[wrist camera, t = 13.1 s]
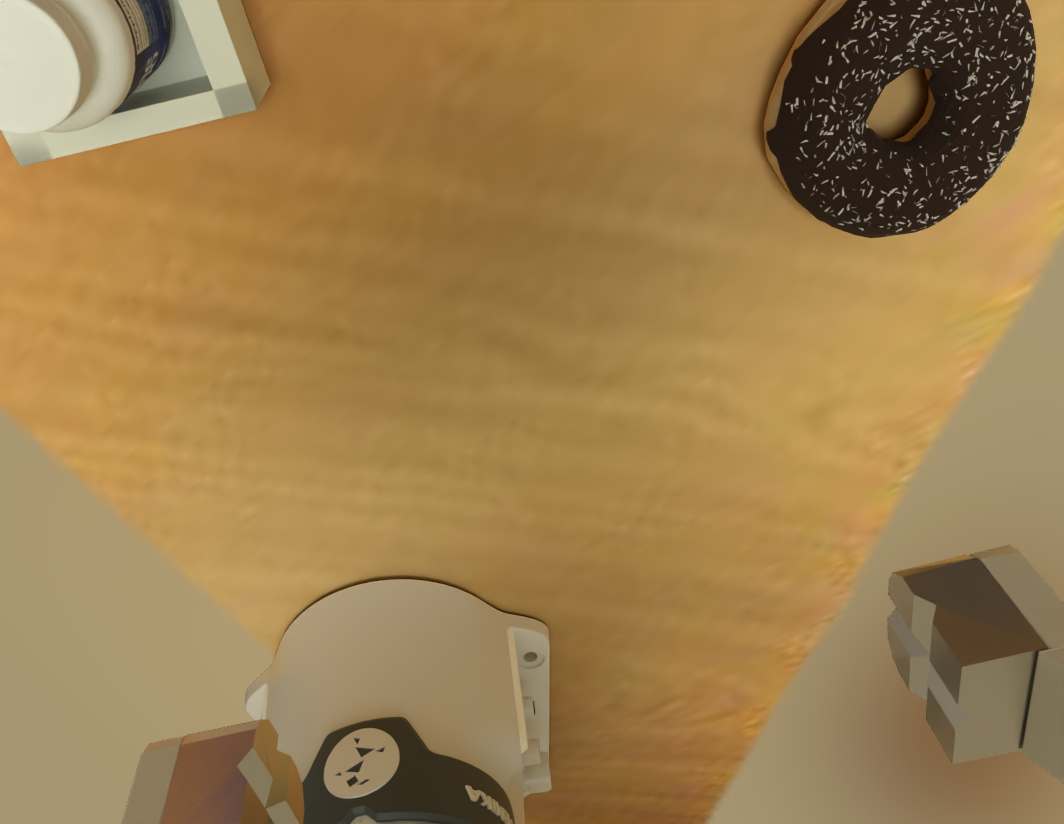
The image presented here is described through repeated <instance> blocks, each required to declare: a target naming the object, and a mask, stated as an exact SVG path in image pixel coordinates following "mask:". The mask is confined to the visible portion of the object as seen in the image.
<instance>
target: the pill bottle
mask: <svg viewBox="0 0 1064 824" xmlns="http://www.w3.org/2000/svg"><path fill="white" fill-rule="evenodd" d="M173 36H174V13H173V8H172V3H171V0H0V131H4V132H8V133H14V134H33V133H39V132H43V131H44V132H53V133H62V132H72V131H77V130H81V129H84V128H88V127H90V126H93V125H95V124H97V123H99V122H100V121H102V120H104V119H105V118H106V117H108V116H109V115H110V114H112V113H113V112H114V111H115V110H116V109H117V108H118V107H119V106H120V105H121V104H122V103H123V102H124V101H125V100H126V99H127V98H128V97H129V96H131V95H132V93H134V92H135V91H136V90H137V89H138V88H139V87H140V86H141V85H142V84H143V83H144V82H145V81H146V80H147V79H148V78H149V77H150V76H151V75H152V74H153V73H154V72H155V71H156V70H157V69H158V68H159V67H160V65H161V64H162V62H163V61H164V59H165V58H166V56H167V55H168V53H169V50H170V48H171V45H172V41H173Z"/></svg>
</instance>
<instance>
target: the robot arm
mask: <svg viewBox="0 0 1064 824" xmlns="http://www.w3.org/2000/svg"><path fill="white" fill-rule="evenodd" d="M888 595H889V596H890V598H891V600H892V601H893V603H894V605H895V606H896V609H895V610H894V611H893V612H892V614H891V615H890V616H889V617H888V619H887V621H888V640H889V644H890V648H891V652H892V657H893V659H894V662H895V664H896V666H897V669H898V671H899V673H900V675H901V677H902V679H903V680H904V682H905V684H906V686H907V688H908V689H909V691H911V692H913V693H915V694H917V695H918V696H920V697H922V698H924V699H925V700H927V708H926V720H927V722H928V724H929V725H930V727H931V729H932V730H933V732H934V734H935V735H936V737H937V739H938V741H939V742H940V744H941V745H942V747H943V749H944V751H945V753H946V754H947V756H948V758H949V759H950V760H951V763H952V764H957V763H961V762H967V761H972V760H977V759H982V758H987V757H991V756H997V755H1002V754H1007V753H1012V752H1017V751H1022V755H1023V756H1025V757H1026V758H1028V759H1029V760H1031V761H1032V762H1034V763H1035V764H1036V765H1038V766H1039V767H1041V768H1042V769H1044V770H1045V771H1047V772H1048V773H1050V774H1051V775H1052V776H1054V777H1055V778H1057V779H1058V780H1060V781H1061V782H1062V783H1064V602H1063V601H1062V600H1061V598H1060V597H1059V596H1058V595H1057V594H1056V593H1055V591H1054V590H1053V589H1052V588H1051V587H1050V586H1049V585H1048V583H1047V582H1046V581H1045V580H1044V579H1043V577H1042V576H1041V575H1040V574H1039V573H1038V572H1037V570H1036V569H1035V568H1034V567H1033V566H1032V565H1031V563H1030V562H1029V561H1028V560H1027V559H1026V558H1025V556H1024V555H1023V554H1022V553H1021V552H1020V551H1019V550H1018V549H1017V548H1015V547H1013V546H1011V545H1007V546H1003V547H999V548H994V549H990V550H986V551H982V552H977V553H973V554H970V555H962V556H959V557H954V558H950V559H946V560H942V561H938V562H934V563H929V564H925V565H921V566H917V567H913V568H909V569H905V570H901V571H897V572H893V573H892V575H891V577H890V579H889V586H888ZM529 652H531V653H529ZM549 693H550V638H549V630H548V627H547V626H546V625H545V624H544V623H542V622H540V621H538V620H535V619H531V618H527V617H523V616H518V615H513V614H507V613H503V612H501V611H498V610H497V609H495V608H493V607H491V606H489V605H488V604H486V603H485V602H483V601H481V600H480V599H478V598H477V597H475V596H473V595H471V594H469V593H467V592H464V591H462V590H459V589H457V588H454V587H451V586H448V585H444V584H440V583H435V582H430V581H422V580H410V579H395V580H382V581H374V582H369V583H364V584H360V585H356V586H352V587H349V588H346V589H343V590H341V591H338V592H336V593H333V594H331V595H329V596H327V597H325V598H323V599H321V600H320V601H318V602H317V603H315V604H313V605H312V606H311V607H309V608H308V609H307V610H305V611H304V612H303V613H302V614H301V615H300V616H299V617H298V618H297V619H296V620H295V621H294V622H293V623H292V624H291V625H290V627H289V628H288V629H287V631H286V632H285V634H284V636H283V638H282V640H281V642H280V644H279V647H278V650H277V653H276V656H275V658H274V661H273V663H272V664H271V666H270V668H269V669H267V670H266V671H265V672H264V673H263V674H261V675H260V676H259V677H258V678H257V679H256V680H255V681H254V682H253V683H252V684H251V685H250V686H249V687H248V689H247V691H246V697H245V699H246V700H245V709H246V711H247V713H248V714H249V715H250V716H251V717H252V718H253V719H254V720H255V721H252V722H248V723H242V724H237V725H233V726H228V727H223V728H218V729H213V730H208V731H204V732H198V733H193V734H189V735H186V736H181V737H176V738H172V739H167V740H162V741H158V742H153V743H150V744H149V745H148V746H147V748H146V749H145V750H144V752H143V753H142V755H141V756H140V760H139V763H138V767H137V771H136V774H135V778H134V781H133V785H132V788H131V791H130V795H129V798H128V801H127V805H126V809H125V812H124V816H123V819H122V823H121V824H525V816H524V797H526V796H528V795H530V794H533V793H542V792H549V790H551V775H550V767H549Z"/></svg>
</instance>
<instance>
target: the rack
mask: <svg viewBox="0 0 1064 824" xmlns="http://www.w3.org/2000/svg"><path fill="white" fill-rule="evenodd" d="M171 3H172V8H173V13H174V36H173V41H172V45H171V48H170V50H169V53H168V55H167V56H166V58H165V59H164V61H163V62H162V64H161V65H160V67H159V68H158V69H157V70H156V71H155V72H154V73H153V74H152V75H151V76H150V77H149V78H148V79H147V80H146V81H145V82H144V83H143V84H142V85H141V86H140V87H139V88H138V89H137V90H136V91H135V92H134V93H132V95H131V96H129V97H128V98H127V99H126V100H125V101H124V102H123V103H122V104H121V105H120V106H119V107H118V108H117V109H116V110H115V111H114V112H113V113H112V114H110V115H109V116H108V117H106V118H105V119H104V120H102V121H100V122H99V123H97V124H95V125H93V126H90V127H88V128H84V129H81V130H77V131H72V132H62V133H53V132H44V131H43V132H39V133H33V134H14V133H8V132H4V131H2V133H3V135H4V137H5V139H6V141H7V143H8V144H9V146H10V148H11V150H12V152H13V154H14V156H15V158H16V159H17V161H18V163H19V165H20V167H21V166H25V165H29V164H33V163H38V162H42V161H46V160H50V159H54V158H58V157H63V156H67V155H71V154H75V153H79V152H83V151H87V150H92V149H96V148H100V147H104V146H108V145H112V144H117V143H121V142H125V141H129V140H133V139H137V138H141V137H146V136H150V135H154V134H158V133H162V132H166V131H171V130H175V129H179V128H183V127H187V126H191V125H195V124H200V123H204V122H208V121H212V120H216V119H220V118H225V117H229V116H233V115H237V114H241V113H245V112H249V111H254V110H257V109H258V107H259V105H260V103H261V101H262V99H263V97H264V95H265V93H266V91H267V90H268V88H269V86H270V81H269V78H268V75H267V72H266V70H265V67H264V64H263V61H262V58H261V55H260V53H259V50H258V47H257V44H256V41H255V39H254V36H253V33H252V30H251V27H250V24H249V22H248V19H247V16H246V13H245V10H244V7H243V5H242V2H241V0H171Z"/></svg>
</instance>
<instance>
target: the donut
mask: <svg viewBox="0 0 1064 824" xmlns="http://www.w3.org/2000/svg"><path fill="white" fill-rule="evenodd" d="M1032 23H1033V21H1032V19H1031V15H1030V10H1029V8H1028V5H1027V3H1026V1H1025V0H826V1H825V2H824V3H823V5H822V6H821V7H820V8H819V10H818V11H817V12H816V13H815V15H814V16H813V17H812V18H811V20H810V21H809V22H808V23H807V25H806V26H805V27H804V28H803V30H802V31H801V32H800V33H799V35H798V36H797V38H796V40H795V42H794V44H793V46H792V48H791V50H790V52H789V54H788V56H787V58H786V60H785V62H784V64H783V66H782V68H781V70H780V72H779V75H778V78H777V80H776V83H775V85H774V88H773V90H772V93H771V95H770V98H769V102H768V106H767V111H766V115H765V119H764V138H765V152H766V155H767V158H768V161H769V163H770V164H771V166H772V168H773V169H774V171H775V172H776V174H777V176H778V177H779V179H780V181H781V182H782V184H783V186H784V187H785V189H786V190H787V191H788V192H789V193H790V194H791V195H792V196H793V197H794V198H795V199H796V200H797V201H798V202H799V203H800V204H801V205H803V206H804V207H805V208H806V209H807V210H808V211H809V212H810V213H811V214H813V215H814V216H815V217H816V218H817V219H818V220H820V221H823V222H825V223H827V224H829V225H830V226H832V227H834V228H837V229H840V230H843V231H845V232H848V233H851V234H854V235H858V236H863V237H868V238H879V237H886V236H892V235H900V234H907V233H913V232H917V231H920V230H923V229H926V228H929V227H931V226H933V225H935V224H937V223H938V222H939V221H941V220H943V219H944V218H946V217H947V216H949V215H950V214H952V213H953V212H954V211H955V210H957V209H958V208H959V207H960V206H962V205H965V204H966V203H967V201H969V200H970V198H971V197H972V196H973V195H975V194H976V192H977V191H978V190H979V189H980V188H981V187H983V186H984V184H985V183H986V182H987V181H988V180H989V179H990V178H992V177H994V176H993V174H995V172H996V171H997V170H998V169H999V168H1000V167H1001V166H1000V164H1001V163H1002V161H1005V160H1004V158H1005V157H1006V156H1007V154H1010V153H1011V152H1010V150H1011V148H1012V147H1014V146H1015V145H1014V143H1016V141H1017V138H1018V134H1019V132H1021V130H1022V126H1023V124H1024V122H1025V120H1026V113H1027V110H1028V106H1029V102H1030V97H1031V95H1032V89H1033V83H1034V71H1035V66H1036V63H1035V58H1036V44H1035V36H1034V29H1033V24H1032ZM910 68H921V69H924V71H925V74H926V77H927V79H928V85H929V101H928V104H927V107H926V110H925V112H924V115H923V116H922V118H921V119H920V121H919V122H918V123H917V124H916V125H915V126H914V127H913V128H912V129H911V130H910V131H909V132H908V133H907V134H906V135H905V136H904V137H901V138H898V139H895V140H887V139H881V138H880V137H879V136H878V135H877V134H876V133H875V132H874V131H873V130H872V129H870V128H868V127H869V126H868V125H867V124H866V120H867V118H868V116H869V114H870V112H871V110H872V108H873V106H874V104H875V103H876V101H877V99H878V97H879V96H880V94H881V92H882V90H883V89H884V87H885V86H886V85H887V84H889V83H890V82H891V81H893V80H894V79H896V78H897V77H898V76H900V75H901V74H902V73H904V72H905V71H906V70H908V69H910ZM1009 152H1010V153H1009Z"/></svg>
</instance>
